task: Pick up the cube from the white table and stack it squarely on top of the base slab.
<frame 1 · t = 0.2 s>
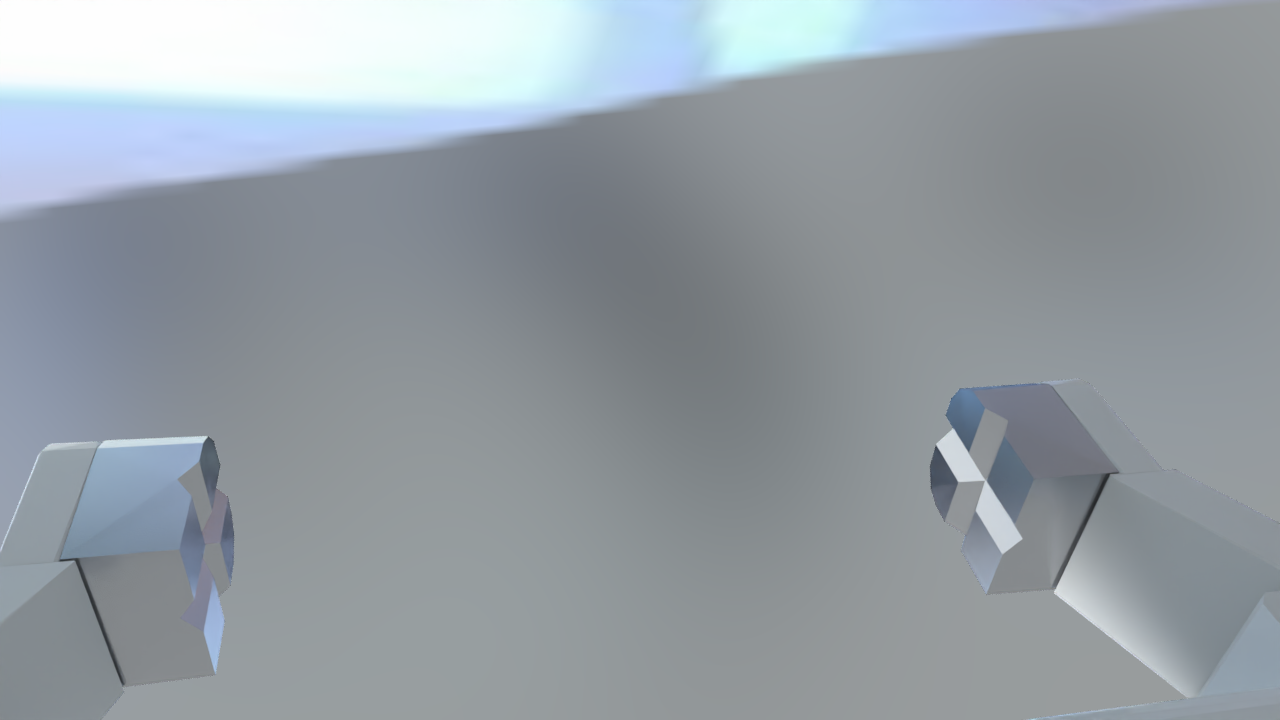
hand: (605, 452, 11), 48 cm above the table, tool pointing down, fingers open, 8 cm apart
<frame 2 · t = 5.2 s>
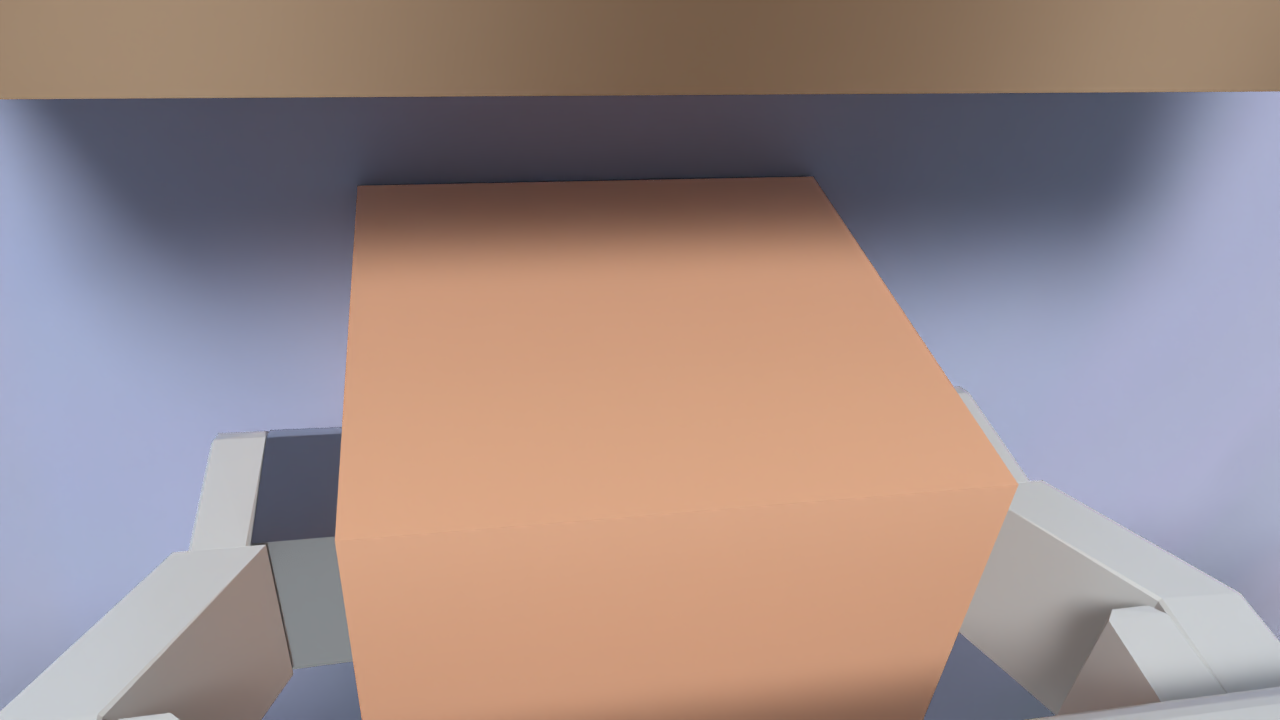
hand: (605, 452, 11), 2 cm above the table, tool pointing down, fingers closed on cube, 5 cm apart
cube: (585, 363, 13), on the table, touching gripper
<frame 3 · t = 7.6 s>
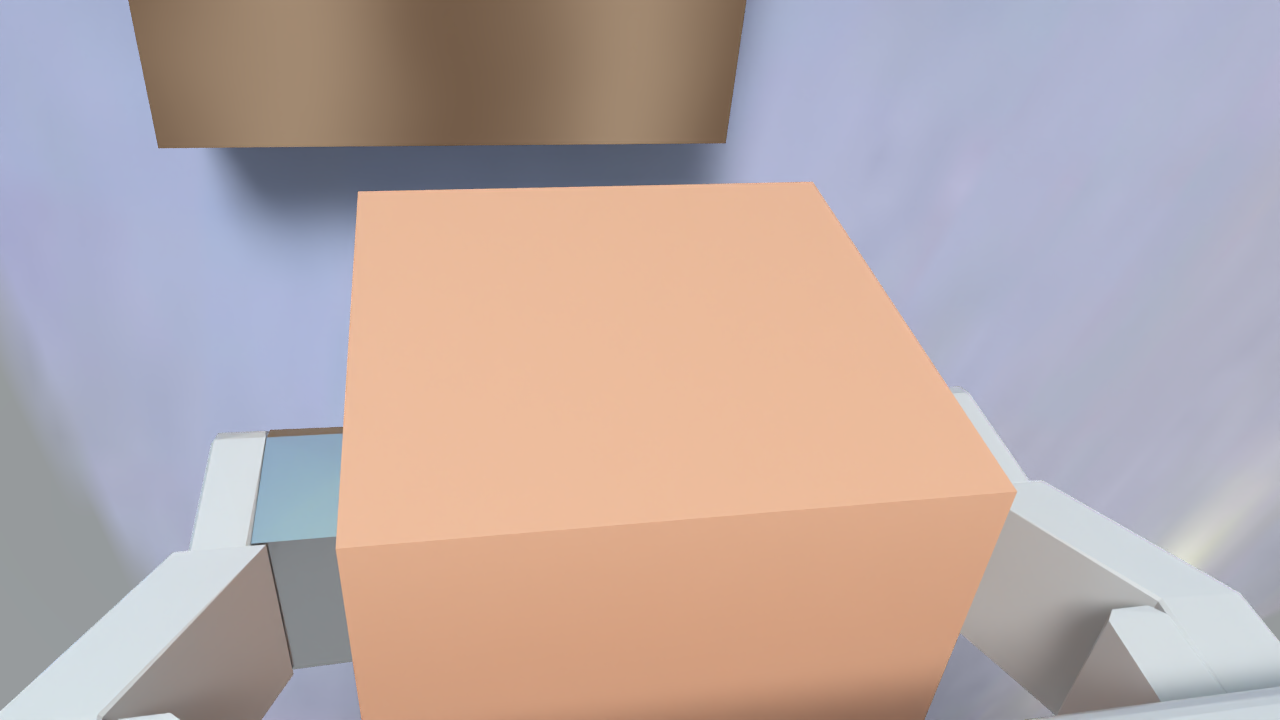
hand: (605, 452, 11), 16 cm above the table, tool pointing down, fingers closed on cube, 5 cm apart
cube: (585, 367, 13), point 14 cm above the table, touching gripper
when the fingers open (7 cm above the table, at t = 9.9 s): cube drops 2 cm, resting on base slab.
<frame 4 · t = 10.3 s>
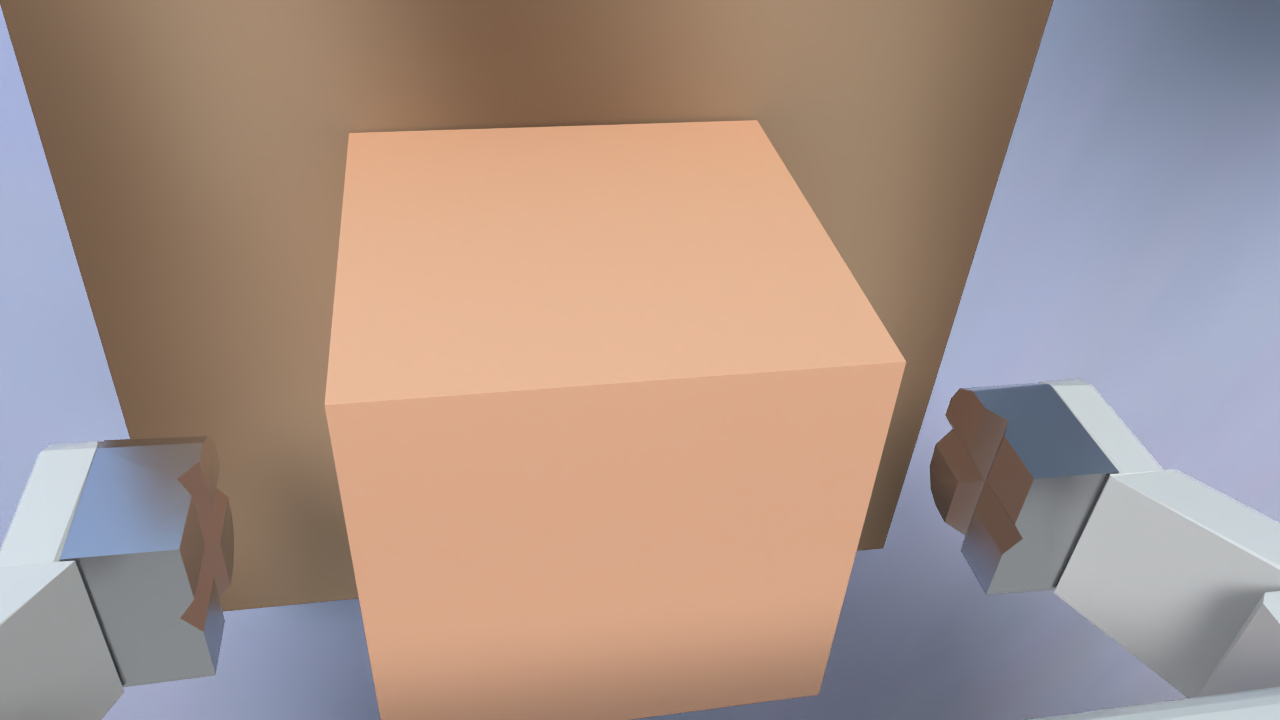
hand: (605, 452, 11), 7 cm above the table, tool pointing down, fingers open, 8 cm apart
base slab: (534, 154, 17), on the table, touching cube
cube: (559, 295, 14), point 4 cm above the table, touching base slab
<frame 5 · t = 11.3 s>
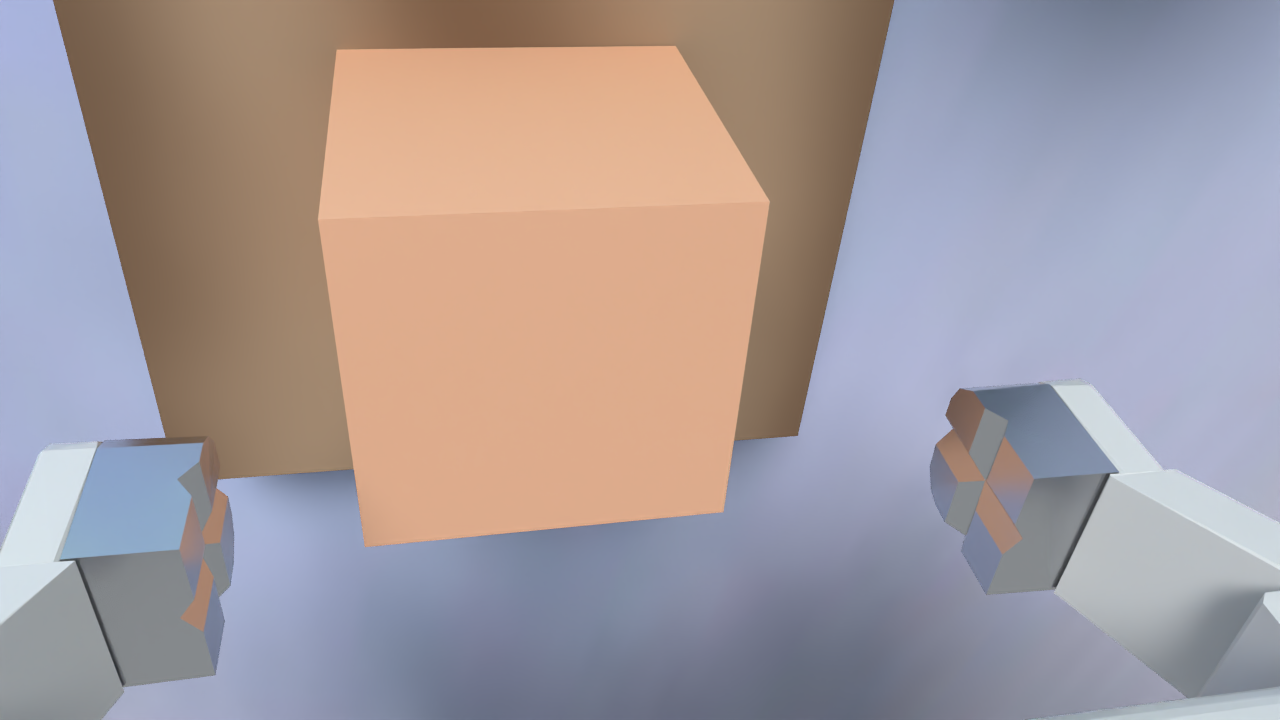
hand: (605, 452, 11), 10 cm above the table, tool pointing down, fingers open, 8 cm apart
base slab: (486, 82, 20), on the table, touching cube
cube: (513, 198, 17), point 4 cm above the table, touching base slab
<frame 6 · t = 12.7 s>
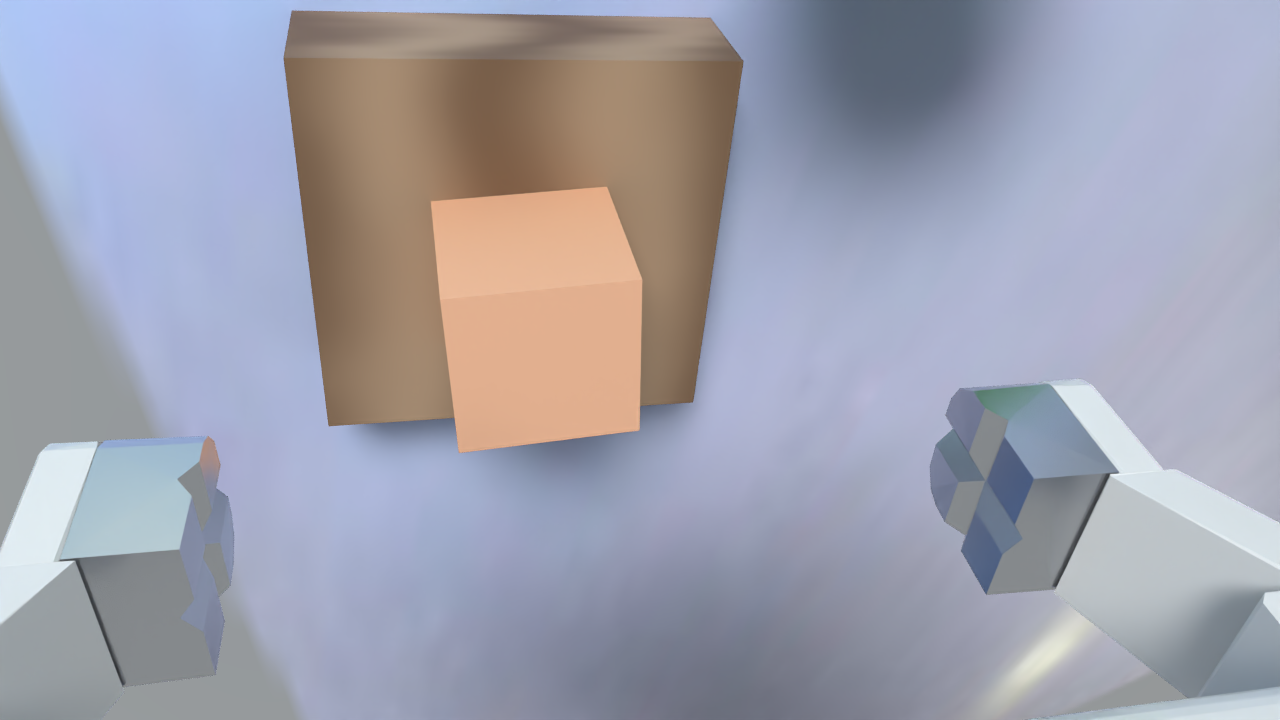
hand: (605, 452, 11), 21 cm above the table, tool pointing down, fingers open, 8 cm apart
base slab: (506, 193, 34), on the table
cube: (524, 268, 31), point 3 cm above the table
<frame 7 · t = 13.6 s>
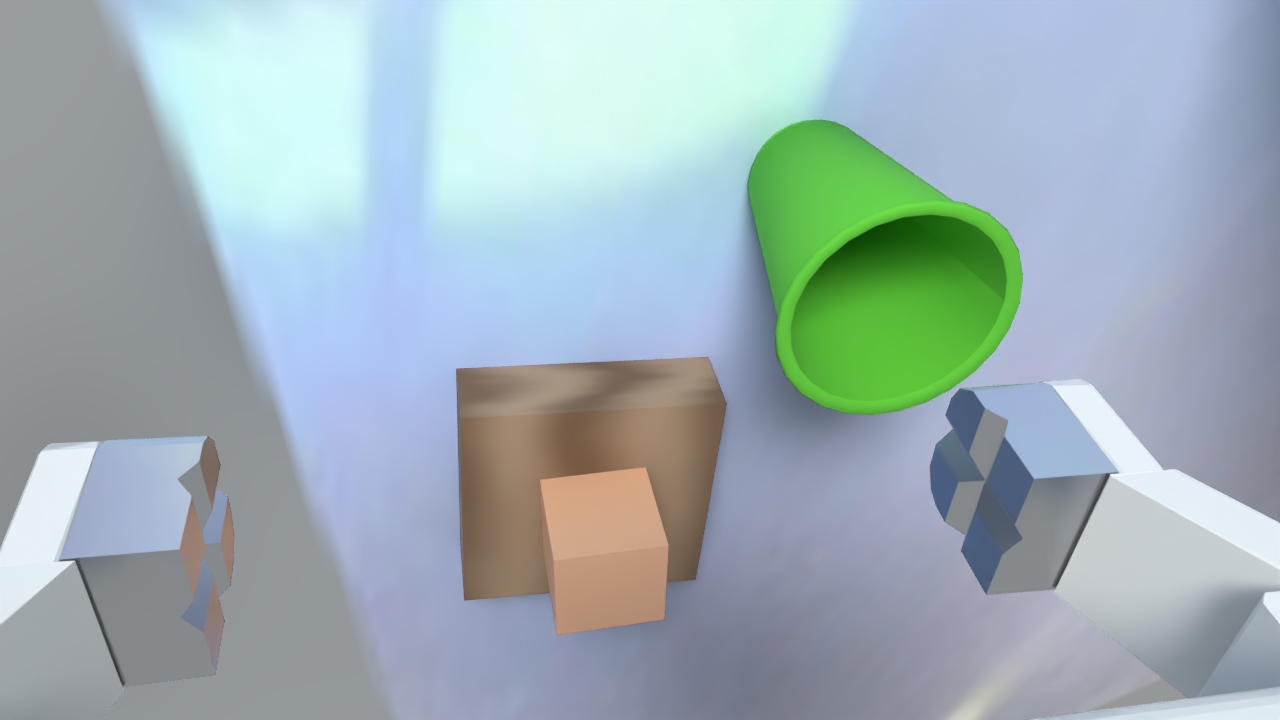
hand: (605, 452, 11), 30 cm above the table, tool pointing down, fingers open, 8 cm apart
base slab: (577, 450, 53), on the table, touching cube
cube: (593, 511, 50), point 3 cm above the table, touching base slab
cup: (802, 170, 45), on the table
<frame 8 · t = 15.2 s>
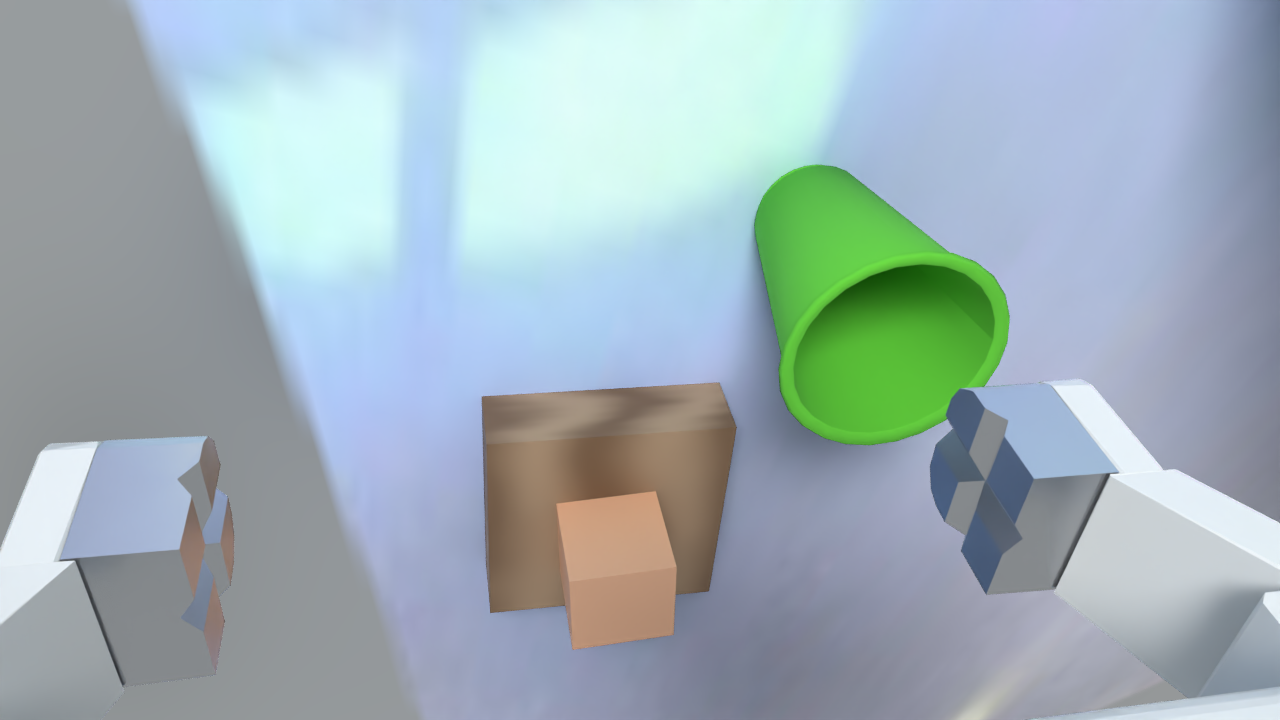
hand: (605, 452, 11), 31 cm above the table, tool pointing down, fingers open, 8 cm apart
base slab: (595, 470, 56), on the table, touching cube
cube: (606, 531, 53), point 3 cm above the table, touching base slab
cup: (806, 210, 48), on the table
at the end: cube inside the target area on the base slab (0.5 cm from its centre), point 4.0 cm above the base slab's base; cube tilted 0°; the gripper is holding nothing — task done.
